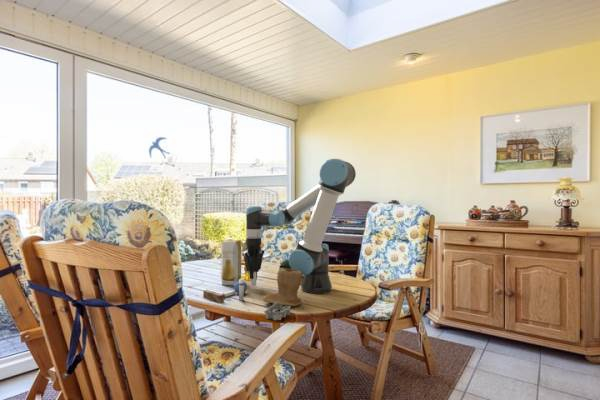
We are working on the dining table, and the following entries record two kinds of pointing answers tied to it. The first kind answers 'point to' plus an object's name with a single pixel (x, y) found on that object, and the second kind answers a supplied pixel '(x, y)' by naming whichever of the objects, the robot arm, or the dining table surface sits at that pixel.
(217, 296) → the wall
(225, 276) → the juice carton
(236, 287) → the ball
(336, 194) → the robot arm
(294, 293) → the brown boot
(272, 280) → the dining table surface
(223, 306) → the dining table surface
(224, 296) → the white pin
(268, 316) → the egg carton
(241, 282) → the white rounded rod
